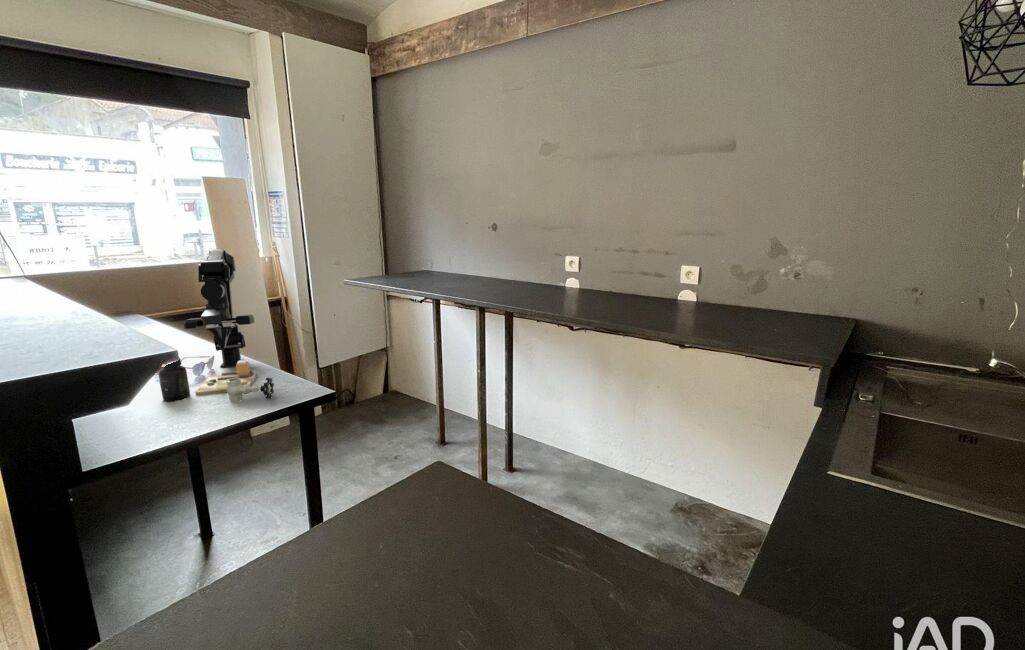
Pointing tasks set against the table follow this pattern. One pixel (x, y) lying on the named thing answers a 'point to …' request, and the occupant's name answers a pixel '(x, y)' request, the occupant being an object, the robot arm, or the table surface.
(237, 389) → the valve
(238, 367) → the orange rectangular block
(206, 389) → the panel
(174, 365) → the supplement bottle
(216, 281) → the robot arm
